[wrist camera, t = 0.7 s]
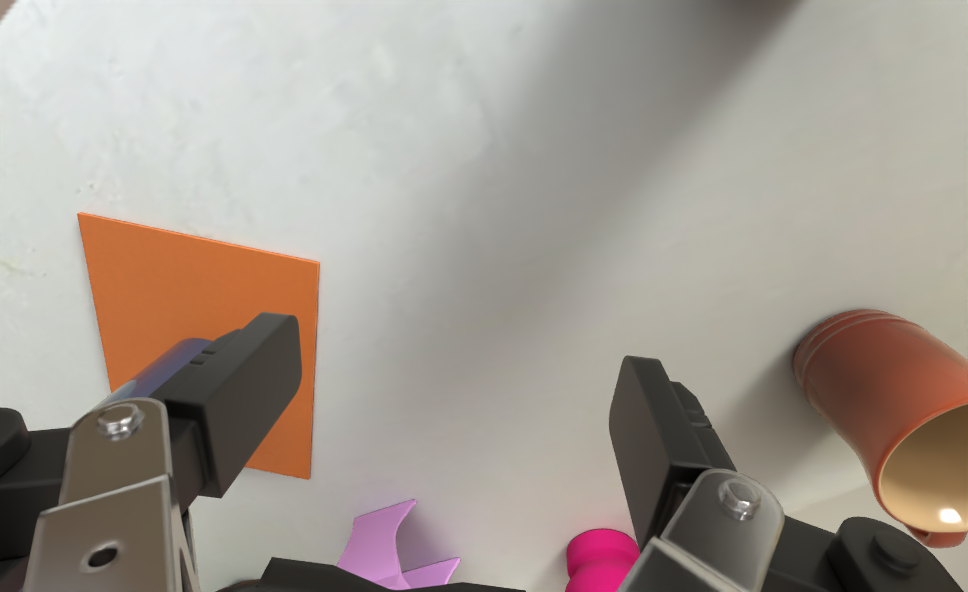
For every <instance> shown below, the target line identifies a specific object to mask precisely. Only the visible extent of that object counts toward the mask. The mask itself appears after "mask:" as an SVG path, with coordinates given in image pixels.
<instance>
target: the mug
mask: <svg viewBox="0 0 968 592" xmlns="http://www.w3.org/2000/svg"><path fill="white" fill-rule="evenodd" d="M794 373H795V377H796V379H797V381H798V383H799V384H800V386H801V388H802V390H803V392H804V394H805V396H806V398H807V400H808V402H809V403H810V404H811V405H812V407H813V408H814V409H816V410H817V411H818V412H819V413H820V415H821V416H822V417H823V418H824V419H825V420H826V421H827V423H828V424H829V425H830V426H831V427H832V428H833V429H834V430H835V431H836V432H837V433H838V434H839V435H840V436H841V437H842V438H843V439H844V440H845V441H846V442H847V443H848V445H849V446H850V447H851V448H852V449H853V450H854V452H855V453H856V454H857V456H858V458H859V459H860V461H861V463H862V465H863V467H864V470H865V472H866V474H867V477H868V479H869V482H870V485H871V487H872V490H873V493H874V495H875V497H876V499H877V501H878V503H879V504H880V506H881V507H882V508H883V510H885V512H886V513H888V514H889V515H890V516H891V517H892V518H894V519H895V520H897V521H899V522H901V523H903V524H904V526H905V527H906V528H907V529H908V531H909V532H910V533H911V534H912V535H913V536H914V537H915V538H916V539H917V540H918V541H919V542H920V543H922V544H923V545H925V546H928V547H931V548H949V547H955V546H958V545H959V544H961V543H962V542H963V541H964V539H965V537H966V534H967V532H968V360H967V359H966V358H964V357H963V356H962V355H960V354H959V353H958V352H956V351H955V350H953V349H952V348H951V347H949V346H948V345H946V344H945V343H943V342H942V341H940V340H939V339H937V338H936V337H934V336H933V335H931V334H930V333H929V332H928V331H926V330H925V329H924V328H922V327H921V326H919V325H917V324H915V323H912V322H910V321H907V320H905V319H904V318H901V317H899V316H895V315H892V314H889V313H887V312H883V311H879V310H871V309H863V310H854V311H849V312H845V313H842V314H839V315H836V316H834V317H831V318H829V319H827V320H826V321H824V322H822V323H821V324H819V325H818V326H817V327H815V328H814V329H813V330H812V331H811V332H810V333H809V334H808V335H807V336H806V337H805V338H804V339H803V341H802V342H801V344H800V345H799V347H798V349H797V352H796V354H795V358H794Z"/></svg>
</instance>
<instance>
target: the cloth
mask: <svg viewBox="0 0 968 592" xmlns="http://www.w3.org/2000/svg"><path fill="white" fill-rule="evenodd" d="M77 215H78V220H79V226H80V231H81V236H82V241H83V247H84V252H85V257H86V262H87V268H88V273H89V278H90V283H91V289H92V294H93V299H94V304H95V310H96V315H97V320H98V325H99V331H100V336H101V341H102V346H103V351H104V357H105V362H106V367H107V372H108V378H109V383H110V388H111V393H113V392H114V391H115V390H117V389H118V388H119V387H121V386H122V385H123V384H124V383H126V382H127V381H128V380H129V379H131V378H132V377H133V376H135V375H136V374H137V373H138V372H140V371H141V370H142V369H144V368H145V367H146V366H147V365H149V364H150V363H151V362H152V361H154V360H155V359H156V358H158V357H159V356H160V355H161V354H163V353H164V352H165V351H167V350H168V349H169V348H170V347H172V346H173V345H174V344H176V343H177V342H179V341H181V340H184V339H189V338H201V339H207V340H211V341H214V340H215V339H216V338H219V337H221V336H223V335H225V334H227V333H229V332H232V331H234V330H236V329H243V328H244V327H245V326H246V325H247V324H248V323H250V322H251V321H252V320H253V319H254V318H255V317H256V316H257V315H259V314H260V313H261V312H270V313H279V314H287V315H294V316H296V318H297V320H298V323H299V334H300V346H301V359H302V379H301V383H300V386H299V389H298V391H297V393H296V395H295V396H294V398H293V399H292V401H291V402H290V403H289V405H288V406H287V408H286V409H285V410H284V412H283V413H282V415H281V416H280V417H279V419H278V420H277V421H276V423H275V424H274V426H273V427H272V428H271V430H270V431H269V433H268V434H267V435H266V437H265V438H264V440H263V441H262V442H261V444H260V445H259V447H258V448H257V449H256V451H255V452H254V453H253V455H252V456H251V458H250V459H249V460H248V462H247V463H246V465H245V466H244V467H248V468H253V469H258V470H263V471H268V472H273V473H278V474H282V475H287V476H292V477H297V478H302V479H307V480H309V478H310V466H311V442H312V419H313V396H314V373H315V350H316V327H317V303H318V280H319V262H316V261H311V260H306V259H301V258H297V257H292V256H287V255H282V254H277V253H273V252H268V251H263V250H258V249H254V248H249V247H244V246H239V245H234V244H230V243H225V242H220V241H215V240H210V239H206V238H201V237H196V236H191V235H186V234H182V233H177V232H172V231H167V230H162V229H158V228H153V227H148V226H143V225H139V224H134V223H129V222H124V221H119V220H115V219H110V218H105V217H100V216H95V215H91V214H86V213H78V214H77Z"/></svg>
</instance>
